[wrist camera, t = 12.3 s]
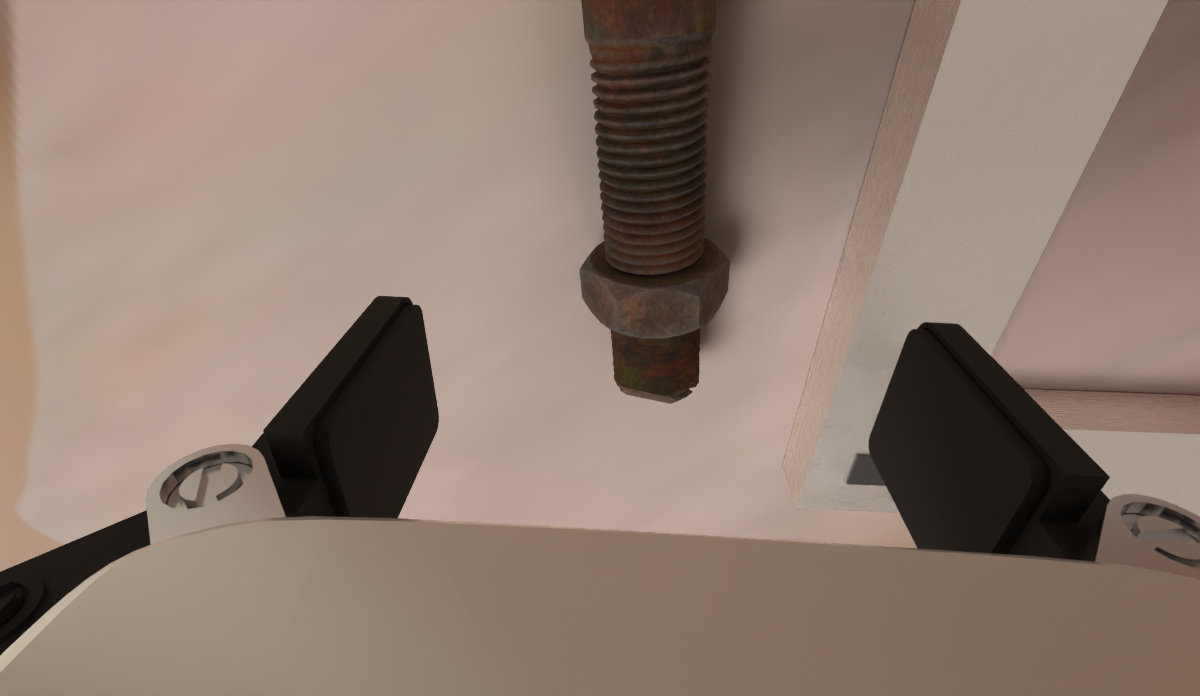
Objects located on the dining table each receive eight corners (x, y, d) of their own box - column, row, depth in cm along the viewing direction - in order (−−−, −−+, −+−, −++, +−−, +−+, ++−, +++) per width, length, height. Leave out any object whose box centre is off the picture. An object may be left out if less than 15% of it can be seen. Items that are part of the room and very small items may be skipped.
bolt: (634, 329, 25) (614, -108, 16) (746, 359, 22) (793, -134, 14) (559, 409, 21) (479, -113, 12) (685, 455, 19) (697, -150, 10)
